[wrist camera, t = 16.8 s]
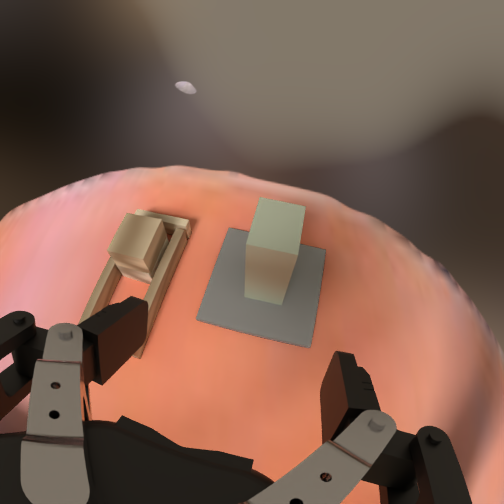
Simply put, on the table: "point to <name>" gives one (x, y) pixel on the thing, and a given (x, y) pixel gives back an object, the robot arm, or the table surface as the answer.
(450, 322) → the table surface
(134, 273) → the block
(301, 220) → the pale green rectangular block
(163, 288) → the birch rack
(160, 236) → the upper offcut
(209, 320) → the grey mat
